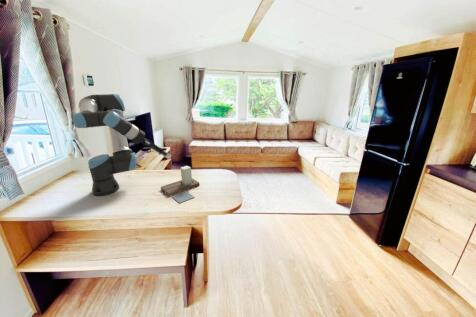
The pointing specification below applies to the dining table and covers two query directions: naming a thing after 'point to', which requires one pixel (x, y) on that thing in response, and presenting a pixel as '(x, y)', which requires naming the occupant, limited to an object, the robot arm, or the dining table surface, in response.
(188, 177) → the puzzle block
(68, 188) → the dining table surface
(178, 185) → the puzzle board
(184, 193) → the mat
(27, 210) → the dining table surface
